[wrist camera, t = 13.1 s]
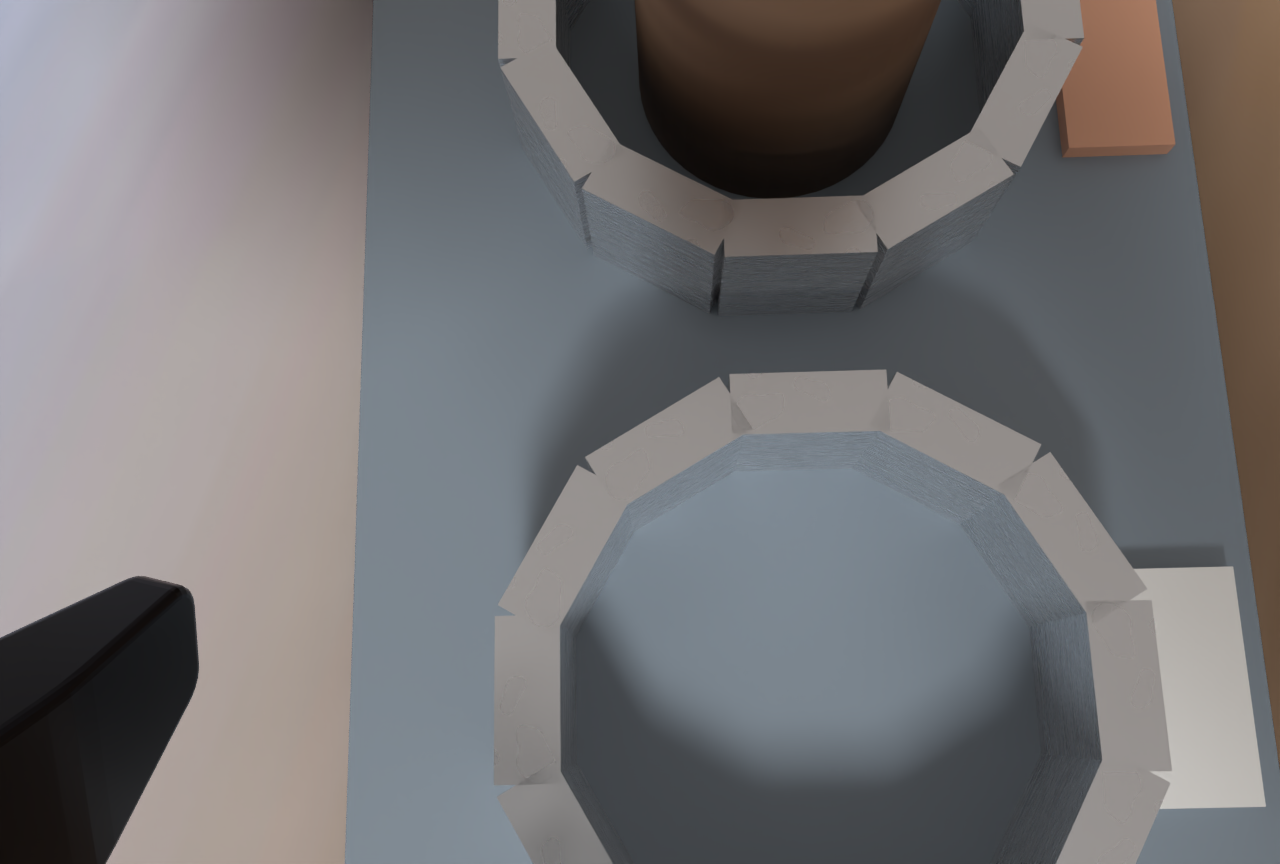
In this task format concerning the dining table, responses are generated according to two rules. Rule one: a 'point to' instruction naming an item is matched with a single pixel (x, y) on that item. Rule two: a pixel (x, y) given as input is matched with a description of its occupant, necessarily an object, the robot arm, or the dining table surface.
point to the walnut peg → (776, 86)
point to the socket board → (797, 468)
